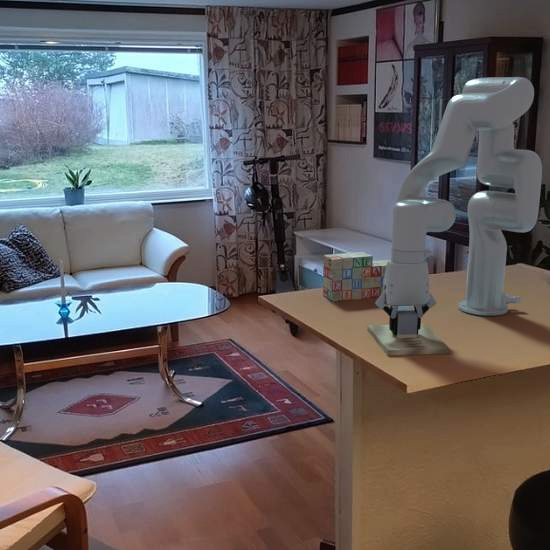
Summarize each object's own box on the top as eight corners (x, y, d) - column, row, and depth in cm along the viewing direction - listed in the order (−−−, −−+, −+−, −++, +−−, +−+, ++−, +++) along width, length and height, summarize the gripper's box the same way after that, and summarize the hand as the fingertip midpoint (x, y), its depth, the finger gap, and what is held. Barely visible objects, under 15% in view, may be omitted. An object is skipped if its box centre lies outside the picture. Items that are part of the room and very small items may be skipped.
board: (423, 328, 173) (423, 323, 172) (449, 353, 155) (450, 348, 155) (367, 330, 171) (367, 325, 171) (387, 355, 154) (387, 350, 153)
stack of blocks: (389, 290, 208) (391, 249, 205) (399, 295, 203) (401, 253, 200) (322, 296, 201) (323, 254, 199) (331, 302, 196) (332, 258, 193)
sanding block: (407, 327, 169) (408, 305, 168) (416, 337, 162) (417, 314, 160) (390, 327, 169) (391, 305, 168) (398, 338, 161) (399, 315, 160)
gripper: (438, 252, 164) (434, 326, 169) (367, 253, 163) (365, 329, 167) (449, 259, 157) (444, 337, 161) (375, 260, 156) (372, 339, 160)
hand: (404, 332), depth 164 cm, fingers closed on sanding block, 4 cm apart
